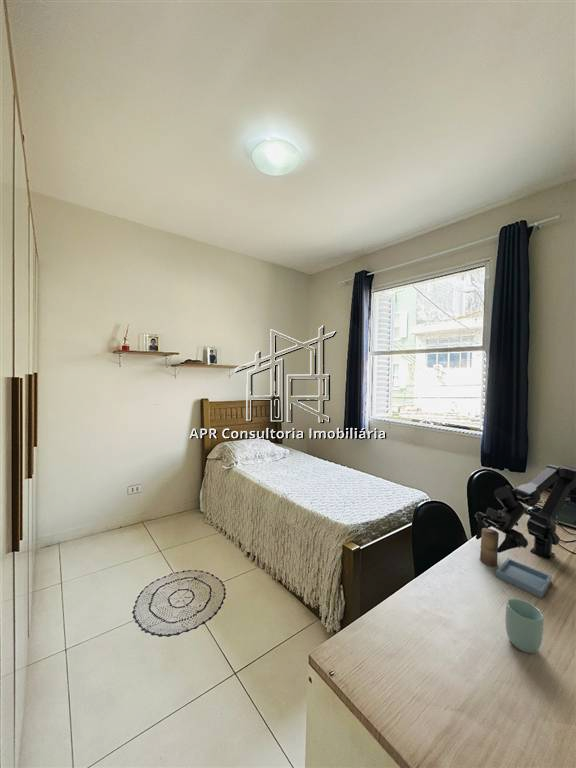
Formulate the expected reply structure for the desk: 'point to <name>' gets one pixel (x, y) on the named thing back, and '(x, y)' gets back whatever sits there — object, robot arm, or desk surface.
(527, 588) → the desk tray
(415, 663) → the desk surface
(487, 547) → the cup
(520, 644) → the cup
